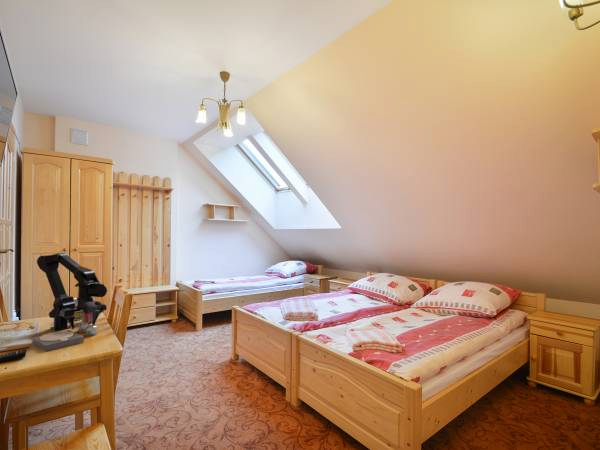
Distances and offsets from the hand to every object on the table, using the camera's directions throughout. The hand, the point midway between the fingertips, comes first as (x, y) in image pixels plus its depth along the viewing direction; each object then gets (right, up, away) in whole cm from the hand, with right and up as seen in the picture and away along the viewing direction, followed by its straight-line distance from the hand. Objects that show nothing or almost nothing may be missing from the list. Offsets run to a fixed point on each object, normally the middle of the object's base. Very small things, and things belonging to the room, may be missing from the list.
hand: (83, 327), depth 155 cm
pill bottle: (-17, -2, +19) cm, 26 cm away
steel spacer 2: (+8, -2, -5) cm, 9 cm away
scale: (+1, -1, -17) cm, 17 cm away
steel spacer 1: (0, -2, 0) cm, 2 cm away
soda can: (-8, -2, +16) cm, 18 cm away
